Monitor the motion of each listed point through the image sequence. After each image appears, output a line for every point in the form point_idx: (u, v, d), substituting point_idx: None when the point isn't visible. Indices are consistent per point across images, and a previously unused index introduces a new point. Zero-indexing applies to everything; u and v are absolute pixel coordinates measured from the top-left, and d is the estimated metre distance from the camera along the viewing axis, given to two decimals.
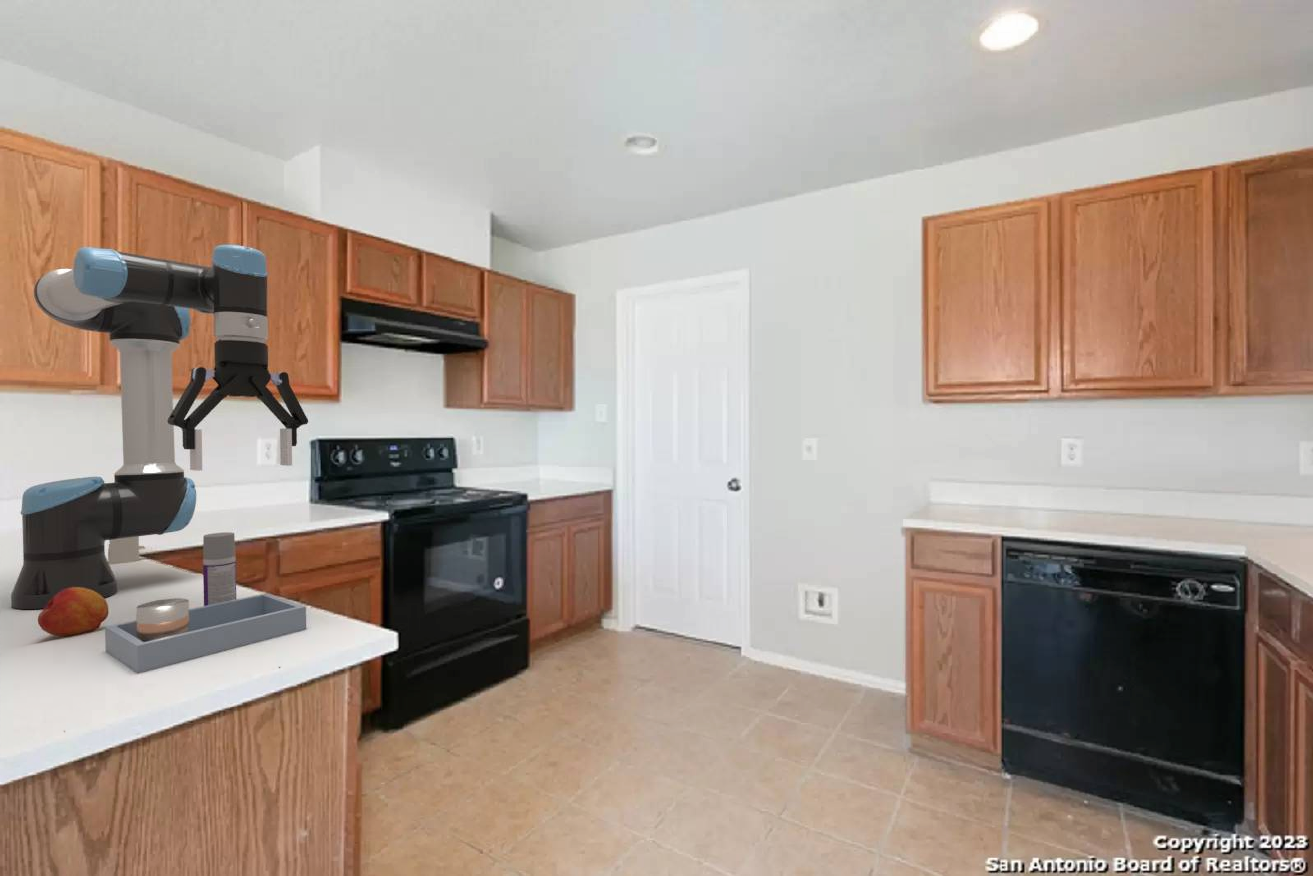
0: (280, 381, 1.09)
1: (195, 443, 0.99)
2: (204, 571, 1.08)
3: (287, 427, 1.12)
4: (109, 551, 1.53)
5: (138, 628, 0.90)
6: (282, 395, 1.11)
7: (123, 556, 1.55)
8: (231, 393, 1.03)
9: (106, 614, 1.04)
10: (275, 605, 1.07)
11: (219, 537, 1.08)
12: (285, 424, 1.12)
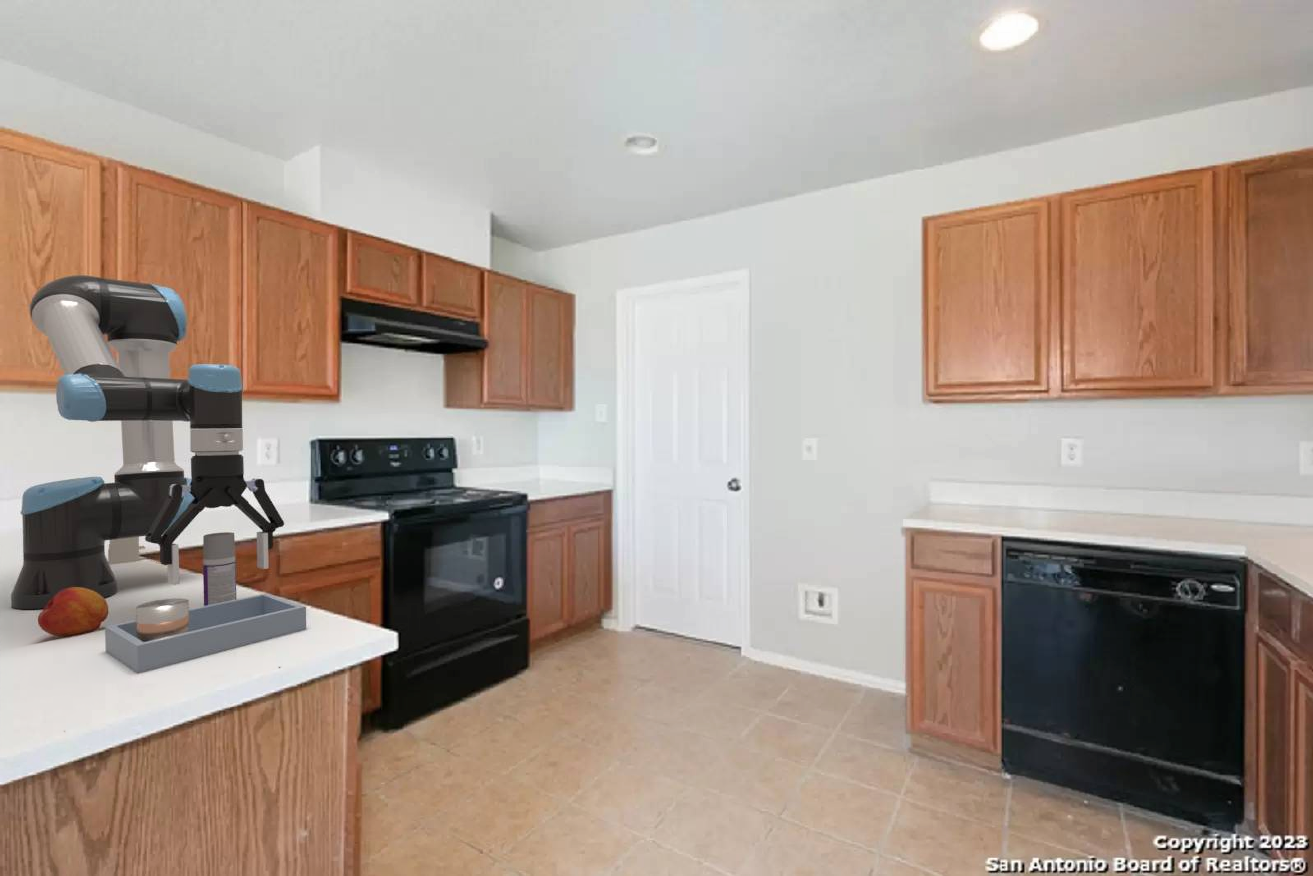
0: (256, 488, 1.13)
1: (172, 558, 1.03)
2: (204, 571, 1.08)
3: (263, 531, 1.15)
4: (109, 551, 1.53)
5: (138, 628, 0.90)
6: (258, 500, 1.15)
7: (123, 556, 1.55)
8: (207, 506, 1.07)
9: (106, 614, 1.04)
10: (275, 605, 1.07)
11: (219, 537, 1.08)
12: (261, 528, 1.16)
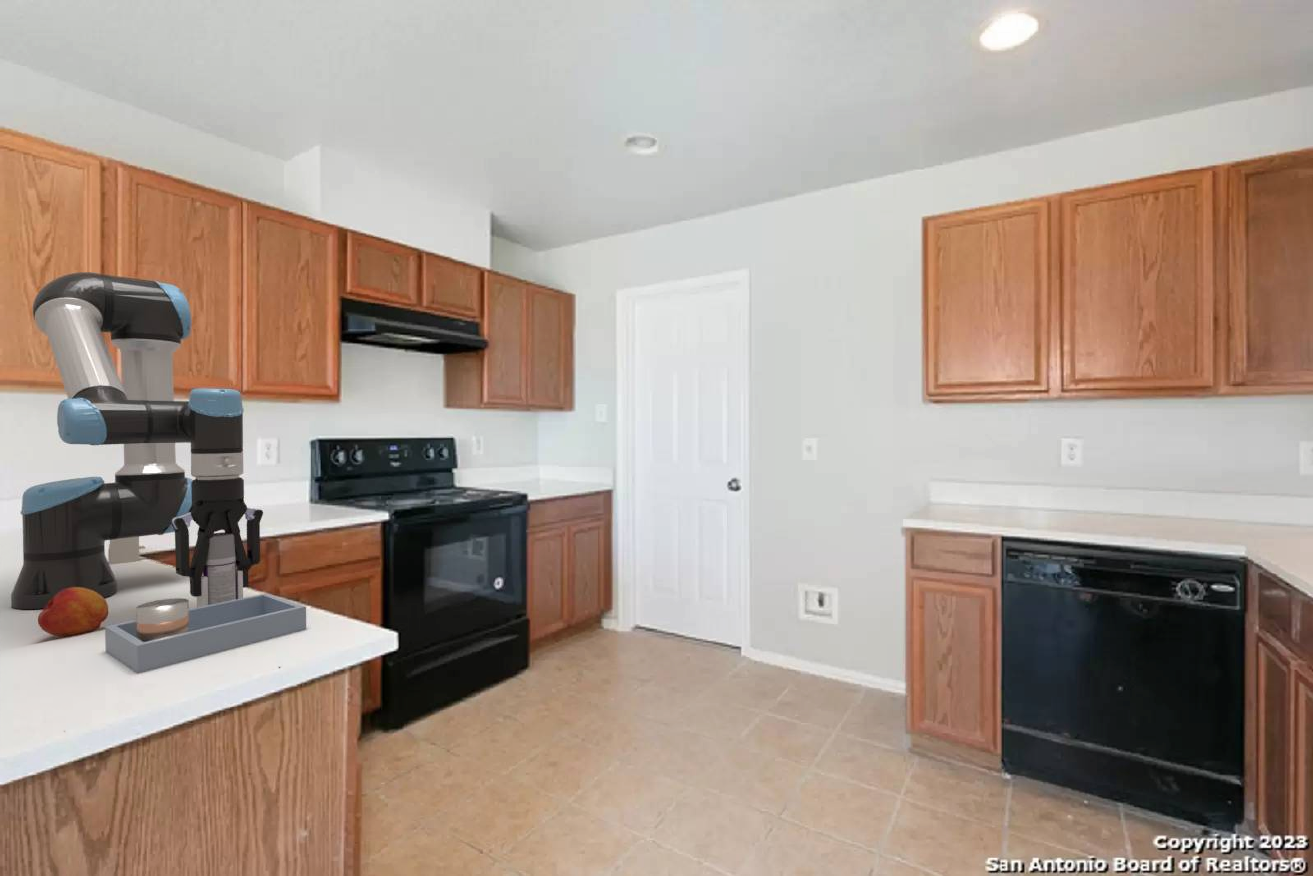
0: (252, 517, 1.13)
1: (201, 590, 1.07)
2: (204, 571, 1.08)
3: (238, 568, 1.12)
4: (109, 551, 1.53)
5: (138, 628, 0.90)
6: (248, 530, 1.14)
7: (123, 556, 1.55)
8: None
9: (106, 614, 1.04)
10: (275, 605, 1.07)
11: (219, 537, 1.08)
12: (237, 565, 1.13)
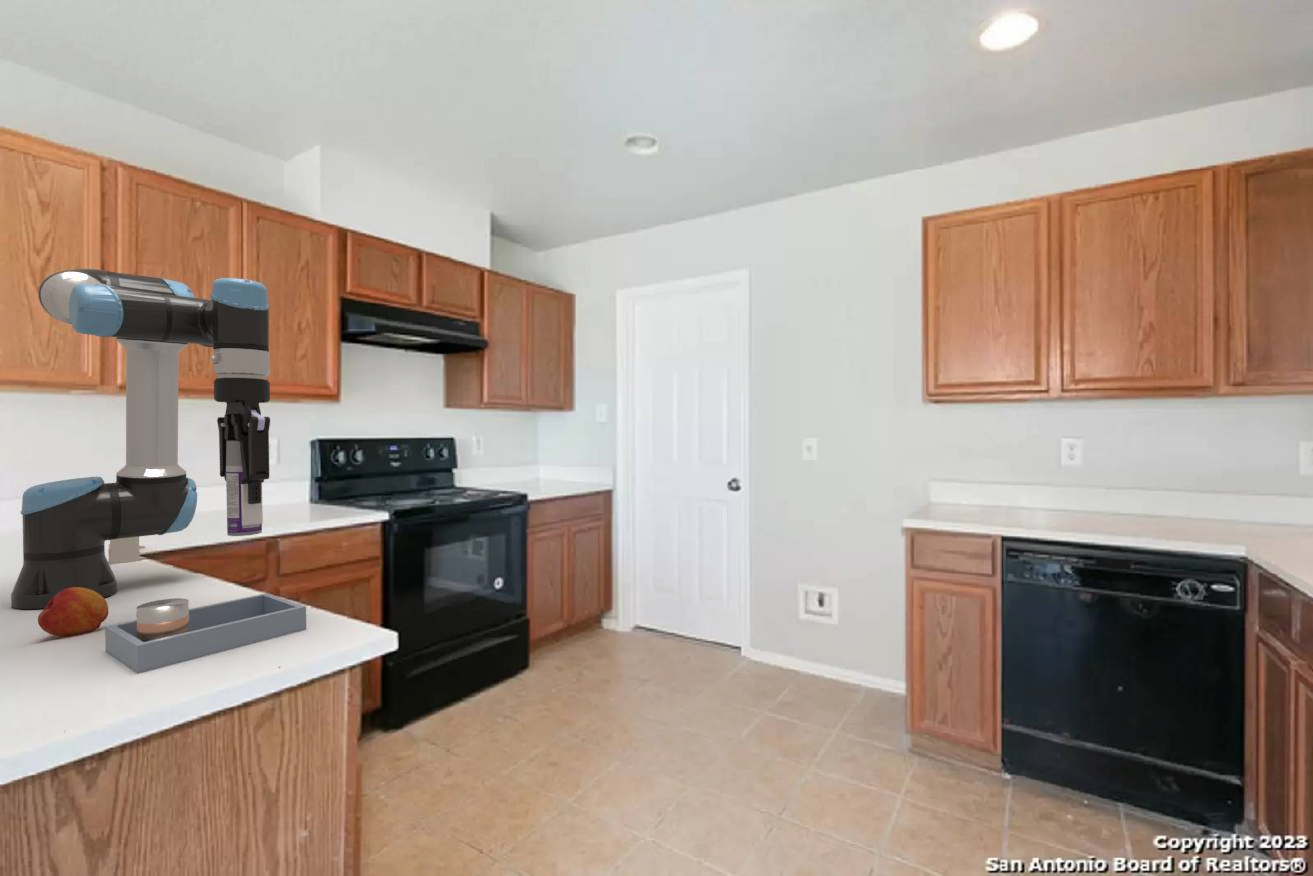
0: (248, 424, 0.97)
1: None
2: None
3: None
4: (110, 551, 1.53)
5: (138, 628, 0.90)
6: None
7: (124, 556, 1.55)
8: (231, 432, 1.01)
9: (106, 614, 1.04)
10: (275, 605, 1.07)
11: (226, 442, 1.00)
12: None
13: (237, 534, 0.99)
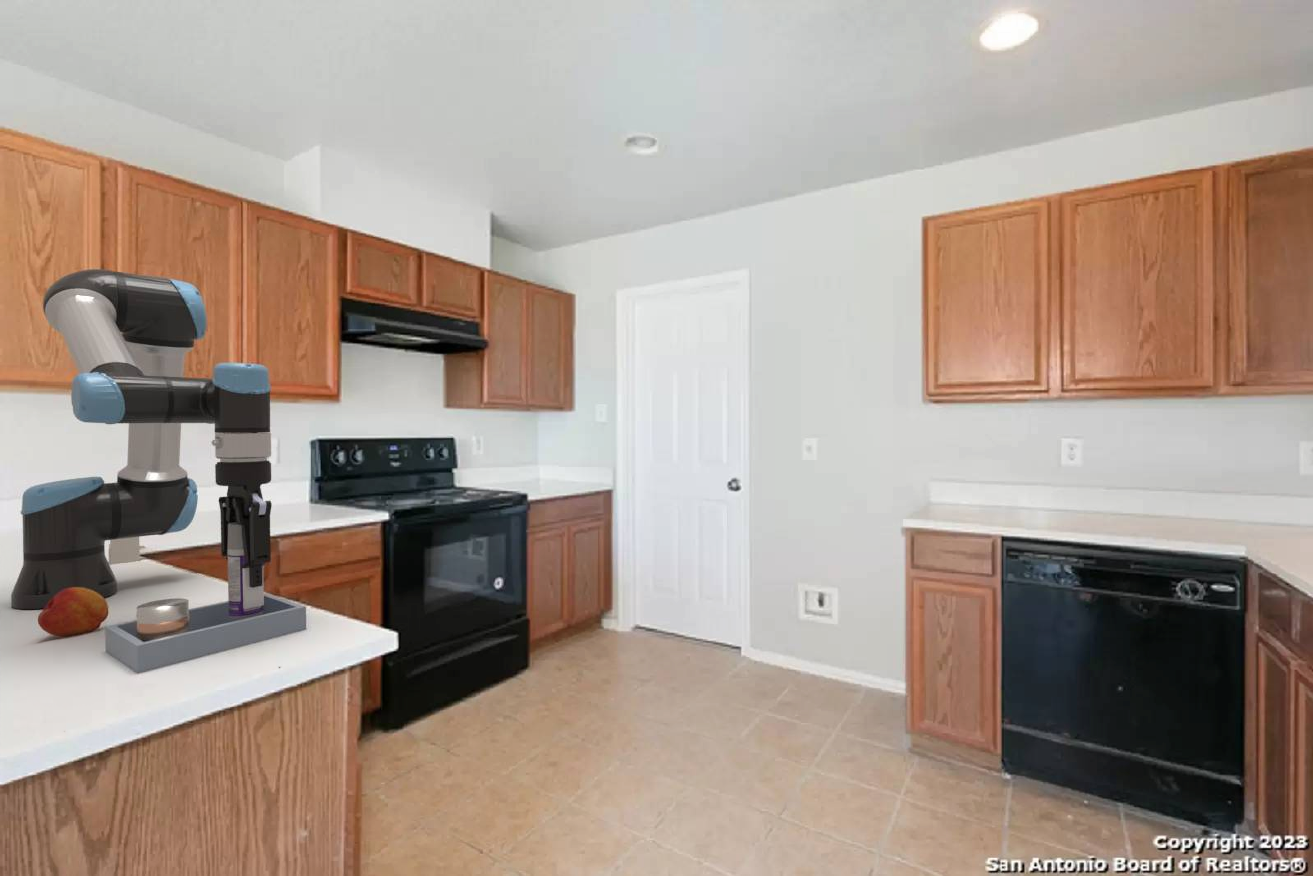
0: (249, 509, 0.97)
1: None
2: None
3: None
4: (110, 551, 1.53)
5: (138, 628, 0.90)
6: None
7: (124, 556, 1.55)
8: None
9: (106, 614, 1.04)
10: (275, 605, 1.07)
11: (228, 525, 1.00)
12: None
13: (238, 617, 0.99)
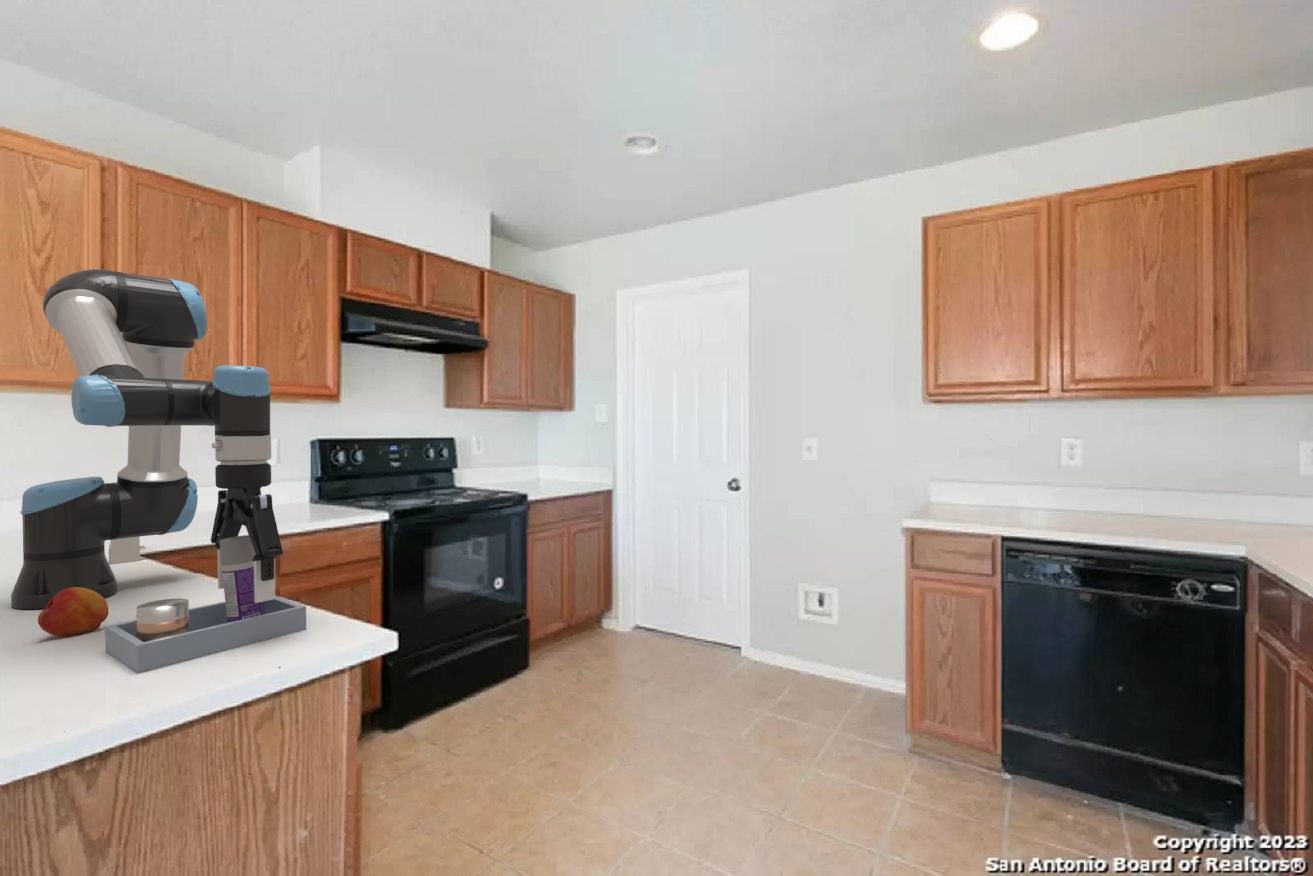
0: (251, 506, 0.97)
1: None
2: None
3: None
4: (110, 551, 1.53)
5: (138, 628, 0.90)
6: None
7: (124, 556, 1.55)
8: (233, 516, 1.02)
9: (106, 614, 1.04)
10: (275, 605, 1.07)
11: None
12: None
13: None
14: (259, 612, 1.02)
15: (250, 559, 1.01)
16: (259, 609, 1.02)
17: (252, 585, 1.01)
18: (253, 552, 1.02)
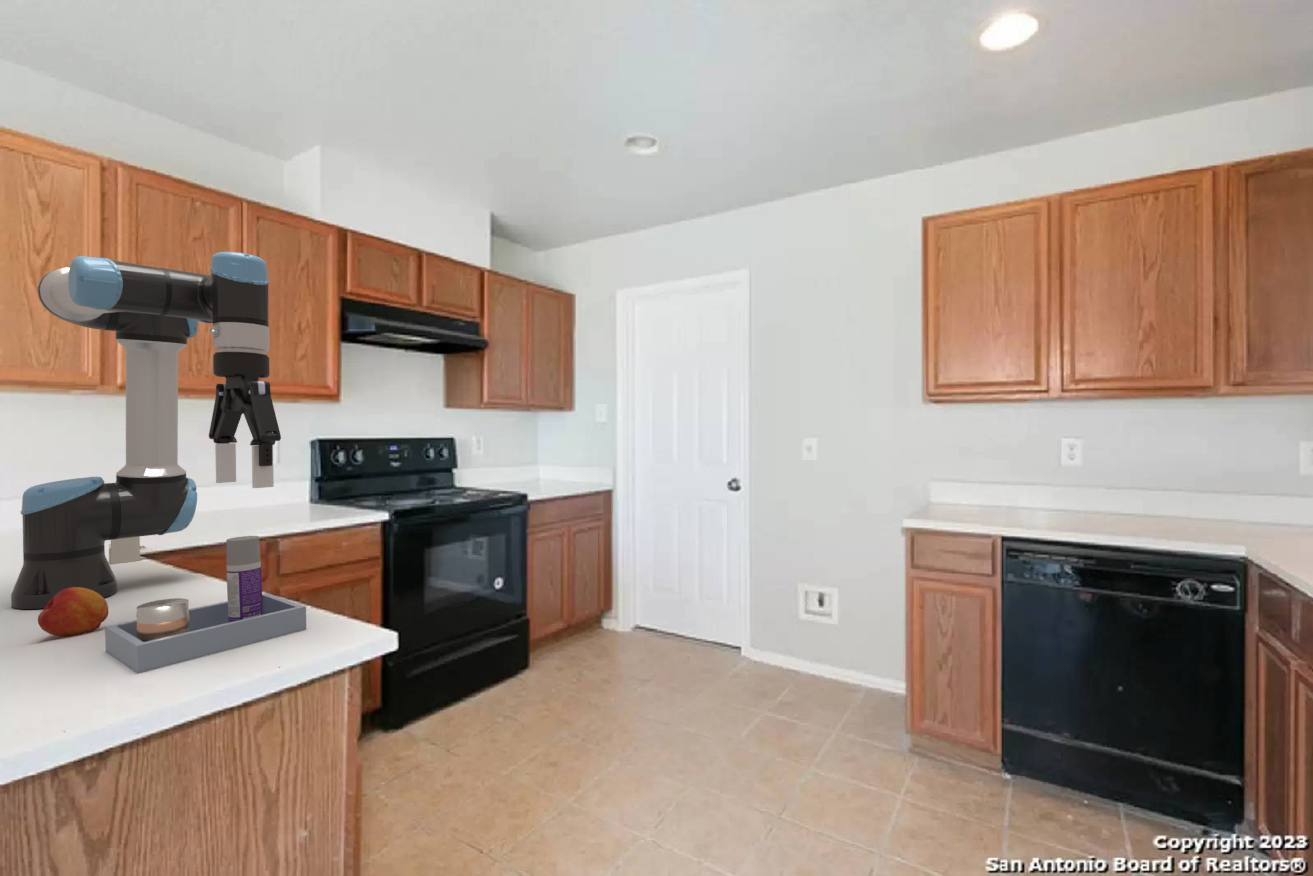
0: (249, 392, 0.97)
1: None
2: None
3: None
4: (110, 551, 1.53)
5: (138, 628, 0.90)
6: None
7: (124, 556, 1.55)
8: (231, 407, 1.01)
9: (106, 614, 1.04)
10: (275, 605, 1.07)
11: (226, 541, 1.00)
12: None
13: None
14: (260, 614, 1.02)
15: (255, 560, 1.01)
16: (260, 611, 1.02)
17: (255, 586, 1.01)
18: (259, 553, 1.02)
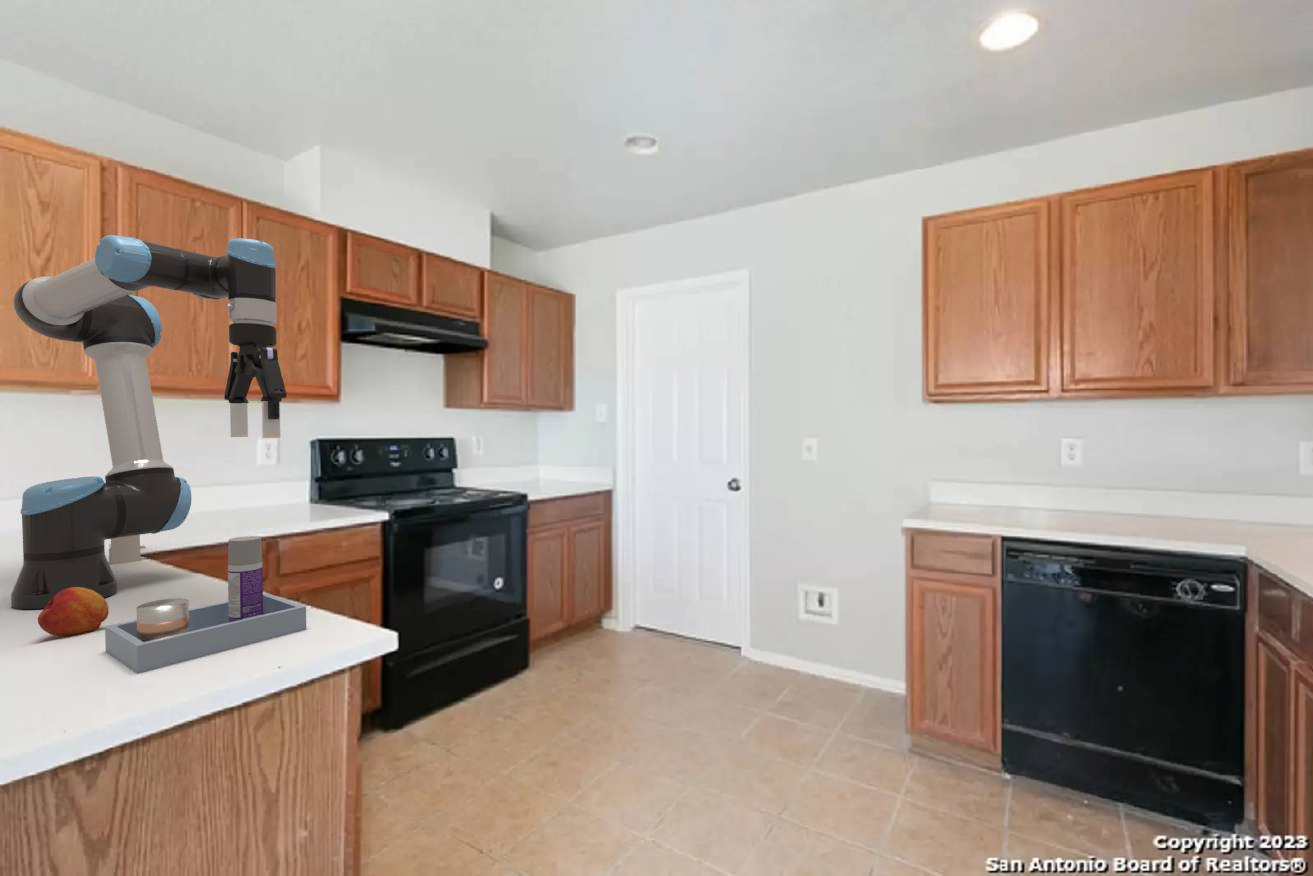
0: (259, 356, 1.14)
1: None
2: None
3: None
4: (110, 551, 1.53)
5: (138, 628, 0.90)
6: None
7: (124, 556, 1.55)
8: (243, 371, 1.19)
9: (106, 614, 1.04)
10: (275, 605, 1.07)
11: None
12: None
13: None
14: (261, 614, 1.02)
15: (257, 561, 1.01)
16: (261, 611, 1.02)
17: (256, 587, 1.01)
18: (260, 554, 1.02)
